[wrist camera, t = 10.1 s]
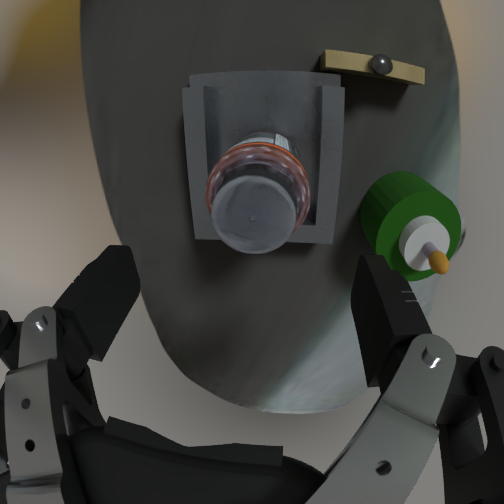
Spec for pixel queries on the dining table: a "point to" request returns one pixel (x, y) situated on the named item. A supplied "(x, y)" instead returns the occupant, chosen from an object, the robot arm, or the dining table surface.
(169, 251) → the dining table surface
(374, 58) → the bar
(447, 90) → the dining table surface
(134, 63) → the dining table surface
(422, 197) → the candle
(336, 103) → the dock
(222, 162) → the supplement bottle
